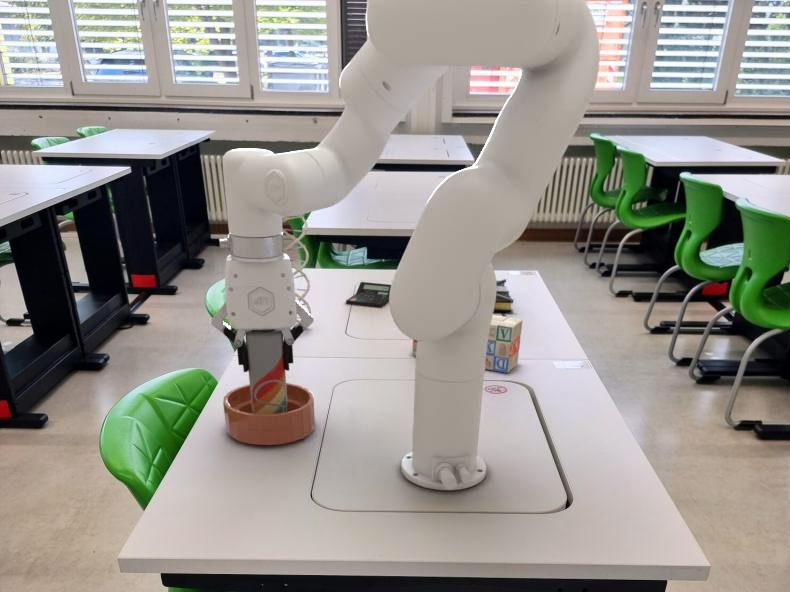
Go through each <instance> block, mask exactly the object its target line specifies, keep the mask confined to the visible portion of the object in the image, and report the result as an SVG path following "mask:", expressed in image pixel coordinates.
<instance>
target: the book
mask: <svg viewBox="0 0 790 592" xmlns="http://www.w3.org/2000/svg"><path fill="white" fill-rule="evenodd" d="M496 283H497V292H496V301H495V306H494V311H493V312H505V313H509V314H513V313H514V309H513V308H512V304H514V298H512V297H511V296H510V290H509V287H508V286H505V283H507V278H503V279H500V280H496Z"/></svg>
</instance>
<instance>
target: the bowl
mask: <svg viewBox="0 0 790 592" xmlns="http://www.w3.org/2000/svg"><path fill="white" fill-rule="evenodd" d="M286 389H287V405H288V412H285V413H279V414H264V415H262V414H252V404H251V393H250V383H248V384H244V385H241V386H239V387H236V388H234V389H232V390H229V391H228V392H227V393H226V394H225V395H224V396H223V402H222V403H223V404H222V405H223V411H224V422H225V431H226V432H227V434H228V436H230V437H231V438H233V439H235V440H236V441H238V442H242V443H245V444H249V445H258V446H274V445H275V446H277V445H284V444H289V443H293V442H296V441H299V440H301V439H305V438H306V437H307V436H308V435H310V434H312V432H313V431H314V429H315V428H316V423H315V422H316V420H315V417H316V416H315V398H314V394H313V392H311V390H309V389H308V388H307V387H304V386H302V385H298V384H294V383H289V382H286Z"/></svg>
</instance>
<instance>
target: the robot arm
mask: <svg viewBox="0 0 790 592" xmlns="http://www.w3.org/2000/svg"><path fill="white" fill-rule="evenodd" d="M367 1H368V2H367V5H366V12H365V25H366V31H367V35H368V38H367V40H366V41H365V42H364V43H363V45H362V46H361V47H360V49H359V50H357V52H356V53H355V54H354V56H353V57H352V58H351V60H350V61H349V62H348V63H347V65H346V66H345V67H344V68H343V69H342V71H341V73H340V76H339V79H338V81H339V82H338V87H339V90H340V94H341V97H342V100H343V101H344V103H345V106H344V109H343V112H342V113H341V115H340V117H339V119H338V121H337V122H336V123H335V124H334V126H333V127H332V128H331V130H330V131H329V132H328V134H326V136H325V137H324V138H323V139H322V140H321V142H319V144H318V145H317V146H316V147H314V148H308V149H301V150H293V151H289V152H281V153H274V152H273V151H271V150H268V149H264V148H263V149H262V148H235V149H230V150H228V151H226V152H225V153H224V155H223V157H222V173H223V186H224V194H225V204H226V205H225V206H226V215H227V216H226V217H227V226H228V235H227V237H226V236H225V237H222V238H221V237H219V240H218V241H219V248H220V249H225V250H228V252H230V254H228V255H227V256H226V258H225V266H224V267H225V270H224V287H225V290H224V291H225V301H224V303H223V304H222V305H221V307H220V308H219V309H218V310H217V312H216V313H215V314H214V315H213V317H212V318H211V321H210V322H211V323H210V324H211V325H212V327H214V328H215V329H216V330H218V331H219V332H221V333H222V334H223V335H224V337H226V338H227V339H229V341H230V342H232V343H233V344H234V346H235V347H236V351H237V352H236V353H237V361H238V362H237V363H238V366H242V367H243V373H248V372H249V371H248V359H247V348H246V338H245V337H246V335H245V334H246V331H247V330H263V329H281V331H282V334H283V341H284V345H283V351H284V366H285V372H286V371H287V372H289V371H290V364H294V349H293V348H294V347H293V345H294V344H295V342H296V341H297V339H298V338H299V337H301V336H302V334H303V333H304V331H305V330H306V329H307V328H309V327H310V326H311V325H312V324H313V323H314V317H313V315H312V313H311V314H310V313H309V310H308V309H306V308H305V307H304V305H301V304H302V303H300V302H298V301H297V300H298V299H297V296H295V293H296V288H295V287H296V286H295V277H294V276H293V273H294V271H293V267H292V266H291V263H292V261H290V260H291V259H290V257H289V255H288V254H286V253H284V249H285V246H284V232H283V230H282V228H283V223H282V218H283V217H285V216H289V217H298V216H299V215H305V214H309V213H311V212H315V211H319V210H323V209H324V210H325V209H327V208H331V207H333V206H336V205H337V204H339V203H340V202H341V201H343V200H344V199H345V198H346V197H347V196H348V195H349V194H350V193H351V192H352V191H353V190H354V189H355V188H356V187H357V186H358V185H359V183H361V181H362V180H363V179H364V178H365V177H366V176H367V175H368V174H369V173H370V172H371V170H372V169H373V168H374V167H375V166H376V164H377V163H378V161H379V159H380V158H381V156H382V154H383V152H384V150H385V148H386V147H387V145H388V142H389V140H390V137H391V134H392V132H393V130H394V129H395V128H396V127H397V126H398V124H400V122H401V121H402V120H403V119H404V118H405V117H406V115H408V113H409V112H410V111H411V110H412V109H413V108H414V107H415V105H416V104H417V103H418V102H419V101H420V100H421V99H422V97H424V95H425V94H426V93H427V92H428V91H429V90H430V89H431V88H432V86H433V85H435V83H436V82H437V81H438V80H439V79H440V78H441V77H442V75H443V74H444V73H445V72H446V71H447V70H448V69H449V68H450V67H481V68H484V67H486V68H487V67H488V68H506V69H507V68H508V69H509V68H511V69H513V68H514V69H520V73H519V78H518V82H517V83H516V85H515V88H514V89H513V91H512V93H511V95H510V96H509V97H508V99H507V100H506V102H505V104H504V105H503V107H502V109H501V110H500V112H499V114H498V116H497V118H496V120H495V123H494V125H493V127H492V130H491V132H490V134H489V137H488V138H487V140H486V142H485V145H484V147H483V148H482V151H480V154H479V156H478V158H477V159H476V161H475V162H474V164H473V165H472V166H470V167H467V168H463V169H461V170H458V171H456V172H454V173H452V174H450V175H449V176H447V177H446V178H445V179H444V180H442V181H441V182H440V183H439V185H437V187H436V188H435V189H434V191H433V192H432V194H431V195H430V197H429V198H428V200H427V202H426V203H425V206H424V207H423V210H422V212H421V214H420V216H419V218H418V220H417V223H416V226H415V227H414V230H413V232H412V234H411V236H410V239H409V241H408V243H407V245H406V248H405V250H404V252H403V254H402V257H401V259H400V262H399V263H398V266H397V267H396V271H395V273H394V276H393V277H392V281H391V284H390V285H391V288H390V294H389V302H388V305H389V311H390V315H391V318H392V321H393V322H394V324H395V326H396V327H397V328H398V330H399V331H400V332H401V333H402V335H404V336H406V337H407V338H409V339H411V340H413V339H414V340H417V349H416V356H415V365H414V367H415V369H414V391H413V392H414V393H413V416H412V417H413V421H412V448H411V449H412V450H411V451H410V452H408V453H407V454H406V455H405V456H404V457H402V460H401V467H400V468H401V473H402V475H403V476H404V477H405V479H406V480H408V481H409V482H411V483H412V484H415V485H416V486H419V487H422V488H425V489H431V490H434V491H435V490H437V491H458V490H463V489H465V490H466V489H468V488H472V487H474V486H476V485H478V484H479V483H481V482H482V481H483V480H484V479H485V477H486V475H487V464H486V462H485V460H484V459H483V458H482V457H481V456H480V455H479V454H478V448H479V438H480V437H479V436H480V425H481V413H482V404H483V403H482V402H483V391H484V381H485V380H484V379H485V370H486V369H485V362H486V352H487V343H488V337H489V331H490V325H491V321H492V316H493V315H494V312H495V311H494V306H495V301H496V292H497V283H496V281H497V276H496V272H495V269H494V266H493V265H492V263H491V262H492V260H493V258H494V257H495V255H496V254H497V253H498V252H501V251H502V250H503V249H506V248H507V247H509V246H511V245H512V244H513V243H514V242H516V241H517V240H518V239H519V238H520V237H521V236H522V235H523V233H524V231H525V230H526V229H527V227H528V225H529V223H530V221H531V218H532V216H533V215H534V212H535V211H536V208H537V206H538V204H539V202H540V201H541V199H542V197H543V196H544V193H545V192H546V189H547V188H548V186H549V185H550V183H551V180H552V178H553V177H554V175H555V172H556V171H557V169H558V167H559V165H560V163H561V160H562V159H563V156H564V155H565V153H566V151H567V149H568V147H569V145H570V143H571V141H572V140H573V138H574V136H575V134H576V132H577V130H578V128H579V126H580V125H581V122H582V121H583V118H584V116H585V114H586V112H587V110H588V107H589V105H590V102H591V100H592V98H593V94H594V92H595V88H596V84H597V80H598V75H599V69H600V40H599V34H598V33H599V32H598V30H597V26H596V22H595V19H594V16H593V14H592V12H591V10H590V8H589V5H588V3H587V2H586V0H367ZM293 277H294V278H293ZM226 317H227V321H228V323H226V322H225V321H224V320H225V319H226ZM297 317H301V318H302V319H300V320H299V321H300V322H299V323H297V322H296V321H297V320H298V318H297Z"/></svg>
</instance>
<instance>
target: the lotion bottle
mask: <svg viewBox="0 0 790 592" xmlns="http://www.w3.org/2000/svg"><path fill="white" fill-rule="evenodd" d="M245 342H246V348H247V359H248V371H247V372H248V380H249V384H250V393H251V404H252V414H262V415H264V414H279V413H285V412H288V405H287V389H286V383H287V375H286V373H287V372H286V370H285V366H284V351H283V345H284V336H283V334H282V331H281V329H263V330H246V333H245Z"/></svg>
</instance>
